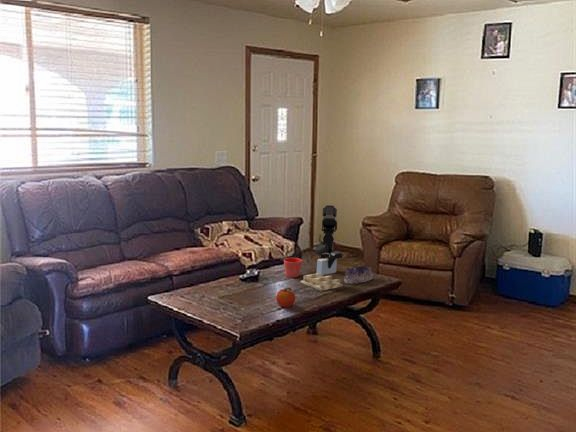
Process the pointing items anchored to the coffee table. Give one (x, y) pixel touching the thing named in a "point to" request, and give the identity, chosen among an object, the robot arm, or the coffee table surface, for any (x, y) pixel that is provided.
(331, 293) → the coffee table surface
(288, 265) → the flower pot
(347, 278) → the geode
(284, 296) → the fruit
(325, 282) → the rack
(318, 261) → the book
